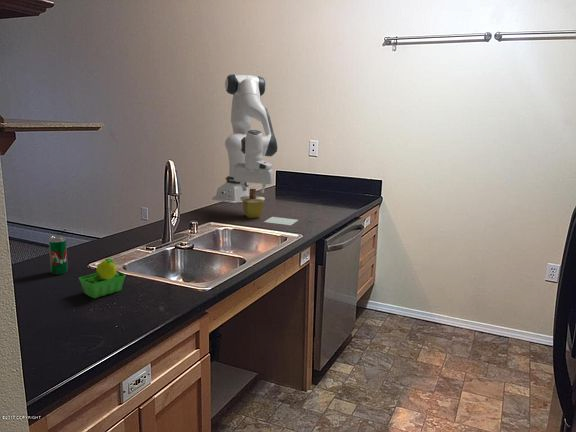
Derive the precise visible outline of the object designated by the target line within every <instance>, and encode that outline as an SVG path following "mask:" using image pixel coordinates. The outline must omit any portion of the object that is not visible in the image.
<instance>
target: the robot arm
mask: <svg viewBox="0 0 576 432" xmlns="http://www.w3.org/2000/svg"><path fill="white" fill-rule="evenodd" d="M224 88H225V91H226V92H227V94H230V95H232V100H231V110H230V111H231V112H230V123H231V126H232V133H231V134H230V135H228V136H227V138H226V139H225V141H224V146H225V148H226V150H227V157H228V163H229V165H228V167H229V169H228V171H229V172H228V173H229V175H228V176H226V177H225V178H224V179H225V181H226V182H225V183H223V184H222V185H221V186H219V187H218V188H217V190H216V192H215V195H214V196H213V197H211V198H212V199H211V200H212V201H218V202H223V203H224V202H225V203H230V204H236V203H243V201H241V197H243V196H249V195H250V189H249V187H250V184H259V185H262V188H260V189H259V193H260V194H263V193H265V189H266V187H267V185H272V184H273V183H274V179H275V178H274V171H273V169H272V168H273V164H272V163H270V162H267V161H265V160H264V156H265V157H273V156H274V155H275V154H276V153H277V152H278V142H277V139H276V137H275V136H276V135H275V133H274V130H273V129H274V128H273V124H272V120H271V116H270V114H269V110H268V108H267V107H265V106H264V105H263V103H262V101H261V96H263V95H264V94H265V91H266V89H267V85H266V81H265V78H264V77H262V76H255V75H251V74H229V75H227V77H226V79H225V81H224ZM251 119H255V120H257V121H258V122H260V123H261V124H262V127H263V132H264V135H265V136H264V135H263V132H262V131H261V130H257V129H252V128H251V125H252V124H251V121H252V120H251Z"/></svg>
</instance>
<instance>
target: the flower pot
mask: <svg viewBox="0 0 576 432" xmlns="http://www.w3.org/2000/svg"><path fill="white" fill-rule="evenodd" d="M264 203H265V201H263V202H257V203H251V202H242V209H243V212H244V215H245V216H246V217H247V218H249V219H255V218H260V217H261V215H262V214H263V211H264V210H263V209H264Z"/></svg>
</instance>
